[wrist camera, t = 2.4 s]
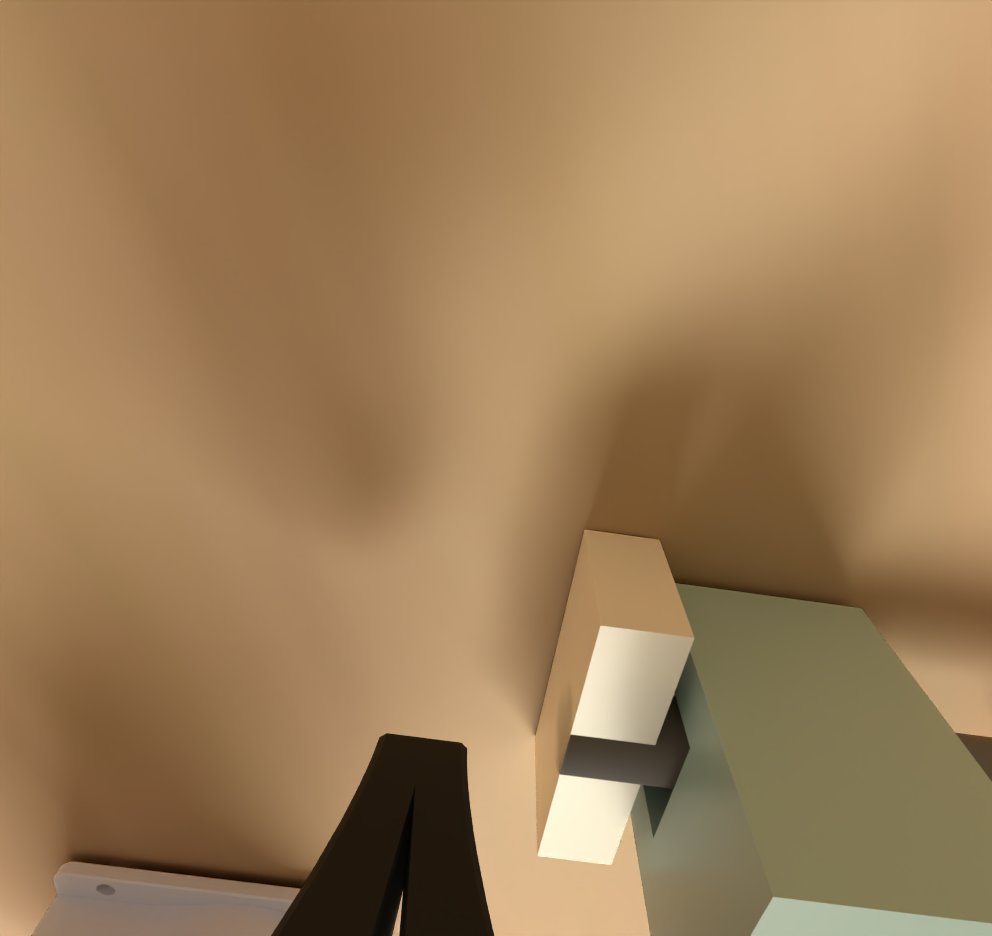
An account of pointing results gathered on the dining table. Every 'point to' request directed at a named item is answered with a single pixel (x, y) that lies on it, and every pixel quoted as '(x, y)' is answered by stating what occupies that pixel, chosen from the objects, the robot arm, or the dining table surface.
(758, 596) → the sage green block
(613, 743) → the rod
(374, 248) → the dining table surface
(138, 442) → the dining table surface
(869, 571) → the dining table surface
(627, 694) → the cream rectangular block
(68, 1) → the dining table surface
